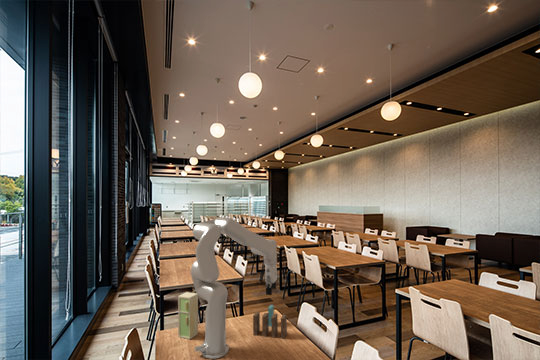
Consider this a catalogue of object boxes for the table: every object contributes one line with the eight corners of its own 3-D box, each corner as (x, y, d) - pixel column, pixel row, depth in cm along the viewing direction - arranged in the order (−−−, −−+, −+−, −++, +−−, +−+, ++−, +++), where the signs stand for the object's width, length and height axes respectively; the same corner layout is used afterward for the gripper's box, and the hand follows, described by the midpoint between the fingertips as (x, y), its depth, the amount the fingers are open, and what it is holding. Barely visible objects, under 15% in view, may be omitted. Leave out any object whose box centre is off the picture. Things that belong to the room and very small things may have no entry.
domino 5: (281, 338, 137) (280, 318, 137) (283, 333, 141) (282, 314, 142) (284, 339, 136) (284, 318, 137) (286, 334, 141) (286, 314, 142)
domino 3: (268, 326, 150) (268, 308, 151) (270, 322, 155) (270, 304, 156) (271, 326, 150) (271, 308, 150) (273, 322, 154) (273, 305, 155)
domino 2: (262, 336, 139) (262, 316, 140) (265, 331, 144) (264, 312, 145) (266, 336, 139) (265, 316, 140) (268, 332, 144) (268, 312, 144)
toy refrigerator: (176, 337, 139) (177, 296, 141) (186, 331, 146) (186, 291, 148) (189, 340, 136) (189, 298, 138) (198, 333, 143) (198, 293, 144)
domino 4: (271, 337, 138) (271, 317, 139) (274, 332, 143) (273, 313, 144) (275, 338, 137) (275, 317, 138) (277, 333, 142) (277, 313, 143)
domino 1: (253, 335, 141) (253, 315, 141) (256, 330, 145) (256, 311, 146) (256, 335, 140) (256, 315, 141) (259, 331, 145) (259, 312, 146)
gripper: (272, 265, 146) (273, 297, 145) (280, 258, 162) (280, 287, 161) (259, 264, 148) (260, 296, 147) (268, 257, 164) (268, 286, 163)
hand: (271, 291), depth 154 cm, fingers open, 9 cm apart
